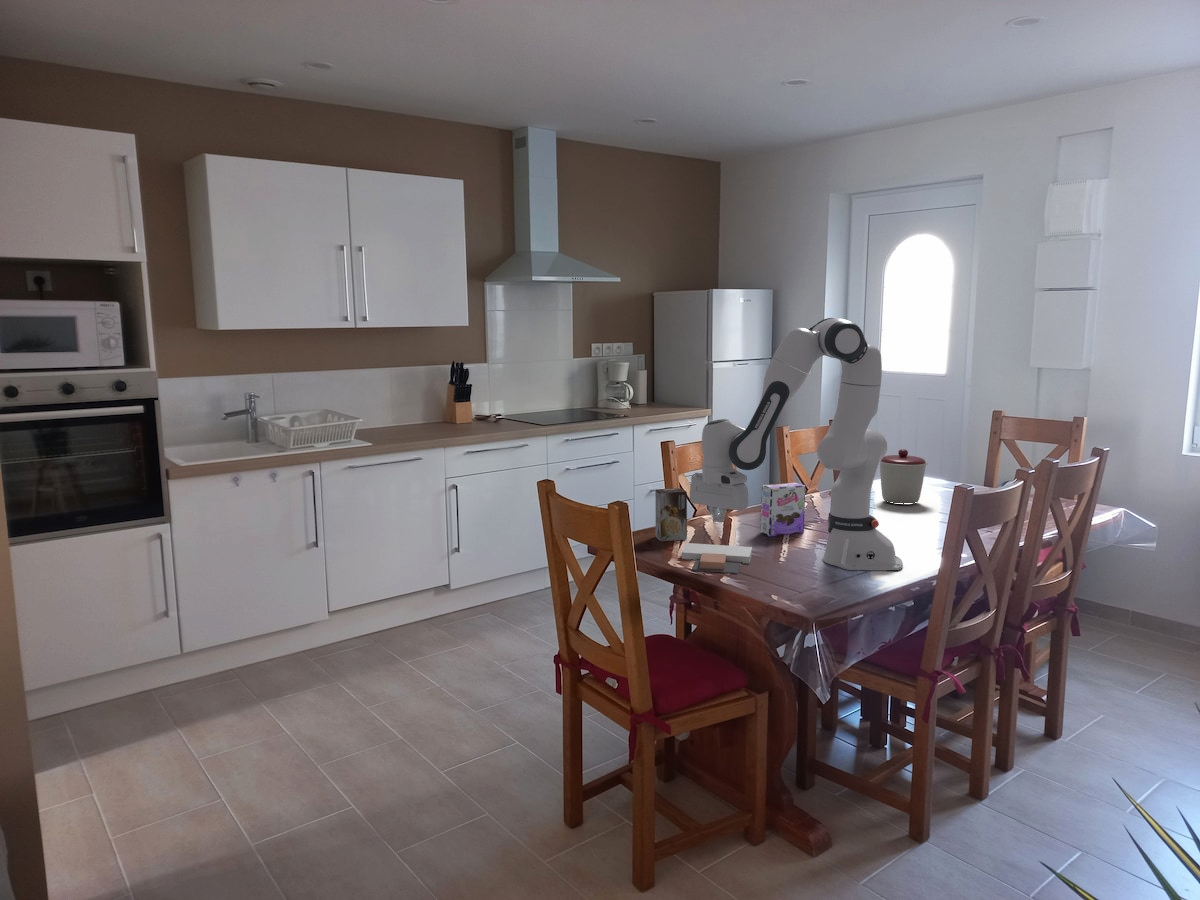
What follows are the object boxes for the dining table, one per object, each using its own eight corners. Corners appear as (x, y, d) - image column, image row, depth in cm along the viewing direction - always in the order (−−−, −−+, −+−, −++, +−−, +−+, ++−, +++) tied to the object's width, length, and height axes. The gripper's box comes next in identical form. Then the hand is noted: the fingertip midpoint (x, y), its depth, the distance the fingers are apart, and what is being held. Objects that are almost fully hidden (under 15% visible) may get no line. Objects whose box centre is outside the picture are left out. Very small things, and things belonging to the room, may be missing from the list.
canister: (866, 499, 338) (869, 447, 335) (905, 496, 344) (908, 444, 340) (895, 509, 321) (898, 453, 318) (935, 506, 327) (938, 451, 323)
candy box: (769, 537, 281) (770, 487, 278) (759, 532, 286) (760, 484, 284) (804, 533, 286) (806, 484, 284) (794, 529, 291) (796, 481, 289)
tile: (725, 560, 252) (726, 554, 252) (724, 569, 243) (724, 562, 243) (702, 559, 253) (702, 552, 253) (699, 568, 245) (700, 561, 244)
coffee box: (681, 535, 283) (682, 487, 281) (687, 540, 277) (688, 491, 274) (654, 536, 281) (655, 488, 279) (659, 541, 275) (660, 492, 273)
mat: (740, 563, 251) (740, 562, 251) (737, 574, 240) (737, 572, 240) (696, 560, 254) (696, 559, 254) (691, 570, 243) (691, 569, 243)
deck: (751, 553, 261) (752, 547, 261) (749, 563, 251) (749, 556, 250) (686, 549, 266) (687, 543, 266) (681, 558, 255) (681, 552, 255)
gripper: (684, 473, 255) (685, 518, 257) (736, 479, 240) (737, 528, 241) (698, 470, 259) (699, 515, 261) (751, 476, 244) (752, 524, 245)
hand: (718, 521), depth 251 cm, fingers closed
